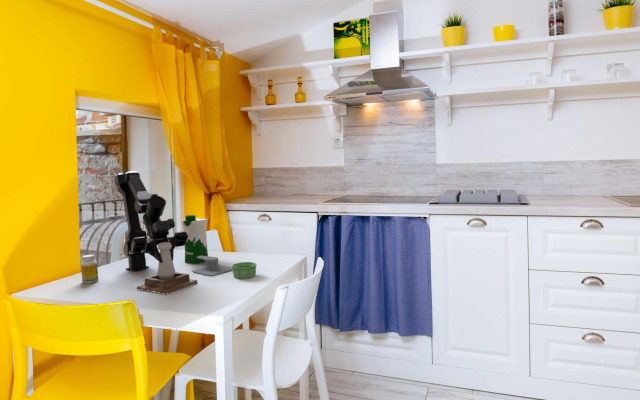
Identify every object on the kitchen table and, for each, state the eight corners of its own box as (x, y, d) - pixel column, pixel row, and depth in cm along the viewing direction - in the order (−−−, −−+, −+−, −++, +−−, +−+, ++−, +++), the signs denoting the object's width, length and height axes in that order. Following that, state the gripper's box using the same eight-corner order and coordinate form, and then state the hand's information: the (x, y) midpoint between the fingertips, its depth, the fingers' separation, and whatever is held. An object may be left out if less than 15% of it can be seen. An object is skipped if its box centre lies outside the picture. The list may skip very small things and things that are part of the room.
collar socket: (137, 289, 156) (136, 279, 156) (168, 278, 168) (168, 269, 168) (166, 294, 149) (165, 283, 149) (197, 283, 162) (196, 273, 161)
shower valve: (211, 252, 188) (235, 256, 179) (211, 265, 189) (236, 270, 179) (185, 258, 178) (210, 263, 169) (186, 272, 179) (211, 277, 170)
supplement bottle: (82, 280, 170) (80, 255, 169) (98, 278, 172) (96, 253, 171) (82, 284, 165) (79, 258, 164) (98, 282, 167) (96, 256, 166)
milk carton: (181, 262, 194) (178, 215, 192) (197, 258, 201) (195, 213, 199) (196, 265, 189) (193, 216, 187) (212, 260, 196) (209, 214, 194)
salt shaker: (156, 278, 160) (154, 242, 159) (173, 276, 163) (171, 240, 161) (160, 282, 155) (157, 245, 154) (177, 280, 158) (175, 242, 156)
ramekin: (245, 280, 163) (244, 268, 162) (227, 277, 168) (226, 266, 167) (262, 275, 170) (261, 263, 170) (244, 272, 175) (243, 260, 175)
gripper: (130, 214, 154) (143, 252, 146) (184, 209, 165) (199, 243, 158) (125, 234, 161) (137, 271, 153) (177, 228, 172) (191, 262, 165)
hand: (167, 261), depth 157 cm, fingers closed on salt shaker, 3 cm apart
